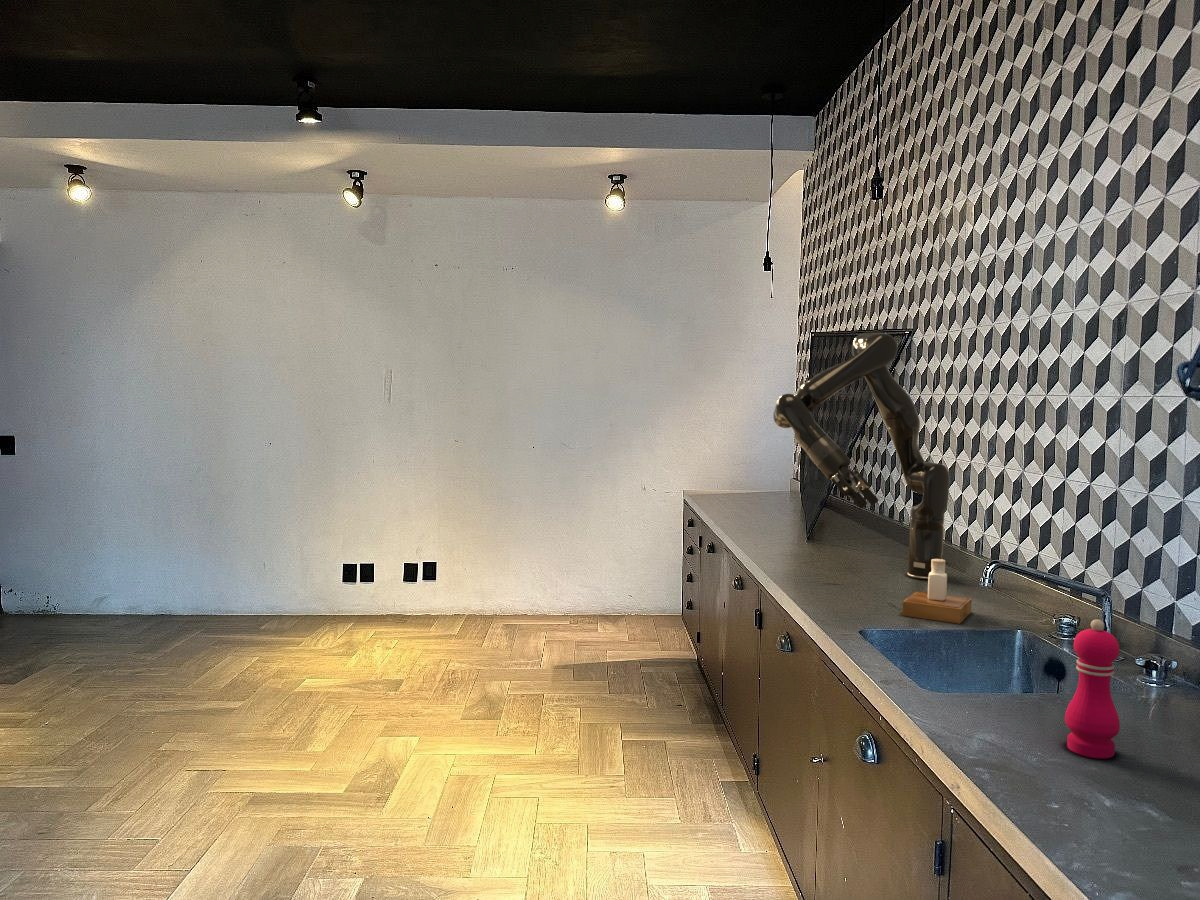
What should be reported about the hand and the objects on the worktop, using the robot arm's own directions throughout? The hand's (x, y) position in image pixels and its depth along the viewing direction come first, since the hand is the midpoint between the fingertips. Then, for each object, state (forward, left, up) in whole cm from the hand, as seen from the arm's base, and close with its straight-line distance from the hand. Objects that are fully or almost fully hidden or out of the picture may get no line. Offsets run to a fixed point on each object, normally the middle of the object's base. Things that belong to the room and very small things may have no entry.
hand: (870, 504), depth 230 cm
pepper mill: (+64, +72, -25) cm, 99 cm away
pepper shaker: (0, +18, -21) cm, 28 cm away
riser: (0, +19, -25) cm, 31 cm away
